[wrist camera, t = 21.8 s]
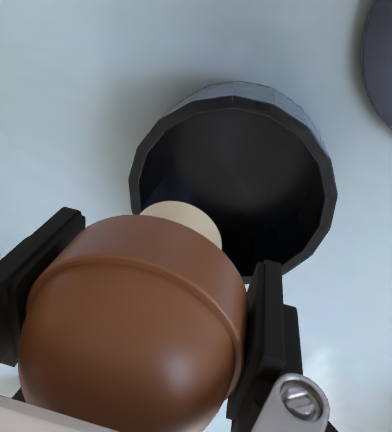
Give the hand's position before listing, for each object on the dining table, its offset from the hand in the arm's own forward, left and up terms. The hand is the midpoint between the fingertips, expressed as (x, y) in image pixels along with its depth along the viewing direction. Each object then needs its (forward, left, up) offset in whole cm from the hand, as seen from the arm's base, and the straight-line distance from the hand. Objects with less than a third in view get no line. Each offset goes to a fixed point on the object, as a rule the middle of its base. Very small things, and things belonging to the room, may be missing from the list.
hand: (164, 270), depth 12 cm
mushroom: (0, 0, -2) cm, 2 cm away
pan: (+3, +2, -19) cm, 20 cm away
